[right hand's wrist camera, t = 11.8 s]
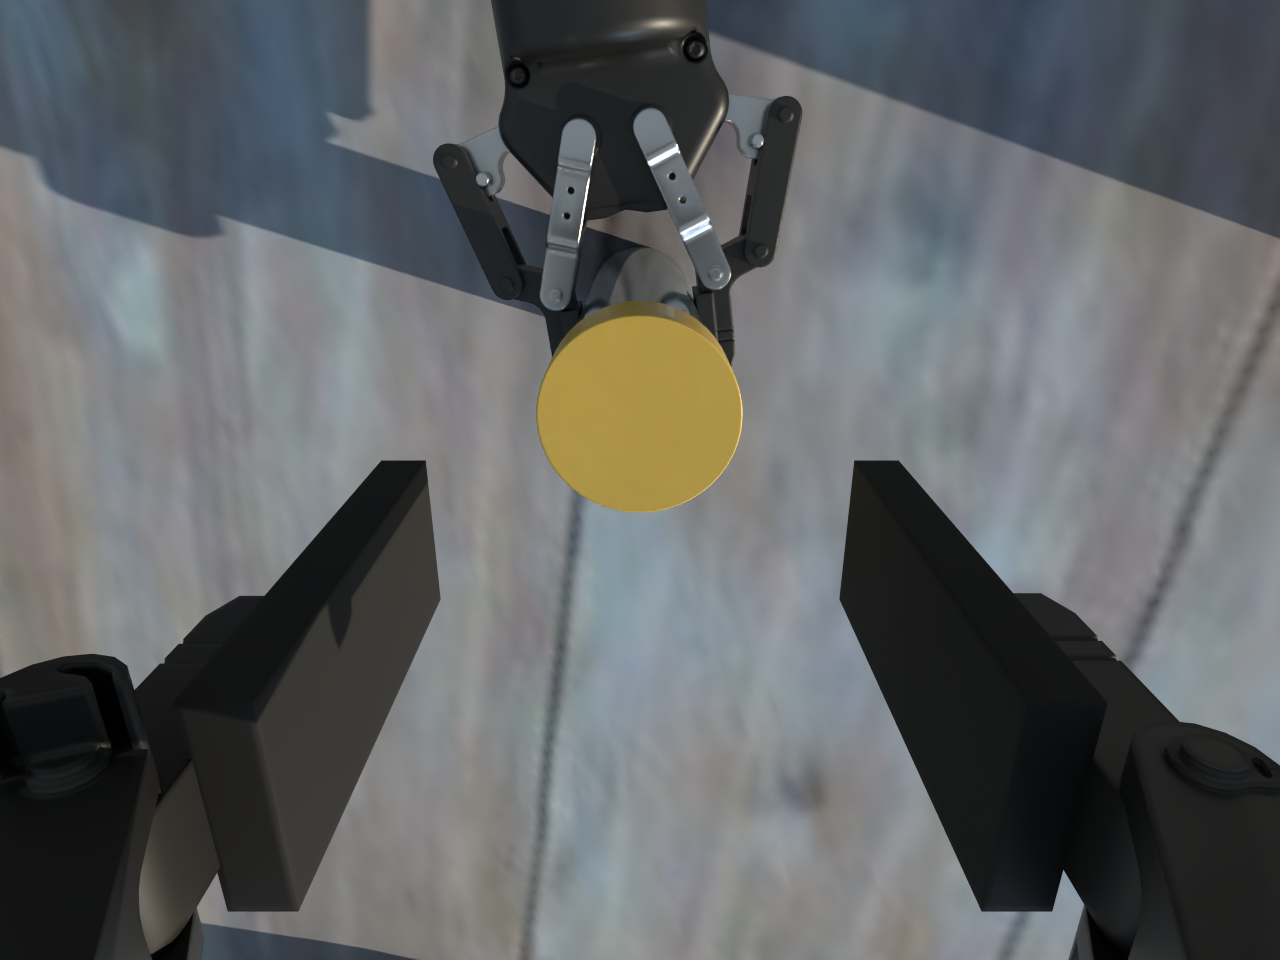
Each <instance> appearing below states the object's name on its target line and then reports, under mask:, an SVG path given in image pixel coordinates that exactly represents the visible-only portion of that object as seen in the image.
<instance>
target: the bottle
mask: <svg viewBox="0 0 1280 960" xmlns="http://www.w3.org/2000/svg"><path fill="white" fill-rule="evenodd" d="M628 301H652V302H657V303H663V304H666V305H669V306H672V307H675V308H677V309H679V310H682V311H684V312H686V313H688V314H689V315H691V316H692V317H694V318H695V319H697V320H698V321H699V322H700V323H702V322H701V319H700V316H699V314H698V311H697V308H696V306H695V303H694V300H693V298H692V295H691V293H690V290H689V287H688V285H687V282H686V279H685V277H684V275H683V273H682V271H681V269H680V268H679V266H678V265H677V264H676V263H675V262H674V261H673V260H672V259H671V258H670V257H669V256H667V255H666V254H664V253H662V252H660V251H658V250H655V249H652V248H647V247H632V248H628V249H625V250H622V251H620V252H618V253H616V254H614V255H613V256H611V257H610V258H609V259H608V260H607V261H606V262H605V263H604V264H603V265H602V266H601V268H600V269H599V271H598V273H597V275H596V277H595V279H594V282H593V284H592V287H591V290H590V292H589V295H588V297H587V300H586V302H585V305H584V308H583V310H582V313H581V315H580V318H579V320H578V322H580V321H581V320H583V319H584V318H585V317H587V316H588V315H590V314H592V313H594V312H595V311H597V310H599V309H602V308H604V307H607V306H610V305H613V304H617V303H621V302H628Z"/></svg>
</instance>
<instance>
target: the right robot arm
mask: <svg viewBox="0 0 1280 960" xmlns="http://www.w3.org/2000/svg"><path fill="white" fill-rule="evenodd" d="M439 601H440V590H439V581H438V571H437V562H436V553H435V543H434V534H433V525H432V515H431V506H430V497H429V488H428V478H427V469H426V461H381V462H380V463H379V464H378V465H377V466H376V467H375V469H374V470H373V471H372V472H371V473H370V474H369V476H368V477H367V478H366V479H365V480H364V481H363V483H362V484H361V485H360V486H359V487H358V488H357V489H356V491H355V492H354V493H353V494H352V495H351V496H350V498H349V499H348V500H347V501H346V502H345V503H344V505H343V506H342V507H341V508H340V509H339V510H338V511H337V513H336V514H335V515H334V516H333V517H332V518H331V520H330V521H329V522H328V523H327V524H326V525H325V527H324V528H323V529H322V530H321V531H320V532H319V533H318V535H317V536H316V537H315V538H314V539H313V540H312V542H311V543H310V544H309V545H308V546H307V547H306V549H305V550H304V551H303V552H302V553H301V554H300V555H299V557H298V558H297V559H296V560H295V561H294V562H293V564H292V565H291V566H290V567H289V568H288V569H287V571H286V572H285V573H284V574H283V575H282V576H281V577H280V579H279V580H278V581H277V582H276V583H275V584H274V586H273V587H272V588H271V589H270V590H269V591H268V593H267V594H266V595H265V596H239V597H237V598H235V599H234V600H232V601H230V602H228V603H227V604H225V605H223V606H222V607H220V608H218V609H216V610H215V611H213V612H211V613H210V614H208V615H206V616H205V617H204V618H203V619H202V620H201V621H200V622H199V623H198V624H197V625H196V626H195V627H194V629H193V630H192V631H191V632H190V633H189V634H188V635H187V636H186V637H185V638H184V639H183V644H178V645H177V646H176V647H175V648H174V649H173V651H172V652H171V653H170V654H169V655H168V656H167V657H166V658H165V663H164V664H159V665H158V666H157V667H156V668H155V669H154V670H153V671H152V673H151V674H150V675H149V676H148V677H147V678H146V679H145V680H144V681H143V682H142V683H141V684H140V685H139V686H138V687H137V688H136V689H135V690H134V688H133V684H132V681H131V678H130V674H129V671H128V667H127V665H125V664H124V663H122V662H121V661H120V660H118V659H117V658H115V657H111V656H104V655H97V654H85V655H75V656H64V657H60V658H56V659H52V660H49V661H45V662H41V663H37V664H33V665H30V666H28V667H26V668H23V669H21V670H18V671H16V672H14V673H11V674H9V675H7V676H4V677H2V678H0V960H201V956H202V948H203V934H202V927H201V922H200V918H199V915H198V911H197V908H196V907H197V906H198V904H199V902H200V901H201V899H202V897H203V896H204V894H205V892H206V890H207V889H208V887H209V885H210V884H211V882H212V880H213V879H214V877H215V875H216V874H217V873H218V876H219V880H220V884H221V888H222V891H223V895H224V899H225V903H226V906H227V910H228V911H299V909H300V906H301V904H302V902H303V900H304V898H305V895H306V893H307V891H308V889H309V887H310V885H311V882H312V880H313V878H314V876H315V874H316V871H317V869H318V867H319V865H320V863H321V860H322V858H323V856H324V854H325V852H326V849H327V847H328V845H329V843H330V841H331V838H332V836H333V834H334V832H335V830H336V827H337V825H338V823H339V821H340V819H341V816H342V814H343V812H344V810H345V808H346V805H347V803H348V801H349V799H350V797H351V795H352V792H353V790H354V788H355V786H356V784H357V781H358V779H359V777H360V775H361V773H362V770H363V768H364V766H365V764H366V762H367V759H368V757H369V755H370V753H371V751H372V748H373V746H374V744H375V742H376V740H377V737H378V735H379V733H380V731H381V729H382V726H383V724H384V722H385V720H386V718H387V715H388V713H389V711H390V709H391V707H392V705H393V702H394V700H395V698H396V696H397V694H398V691H399V689H400V687H401V685H402V683H403V680H404V678H405V676H406V674H407V672H408V669H409V667H410V665H411V663H412V661H413V658H414V656H415V654H416V652H417V650H418V647H419V645H420V643H421V641H422V639H423V636H424V634H425V632H426V630H427V628H428V625H429V623H430V621H431V619H432V617H433V615H434V612H435V610H436V608H437V606H438V604H439ZM840 601H841V604H842V606H843V608H844V610H845V612H846V615H847V617H848V619H849V621H850V623H851V625H852V628H853V630H854V632H855V634H856V636H857V639H858V641H859V643H860V645H861V647H862V650H863V652H864V654H865V656H866V658H867V661H868V663H869V665H870V667H871V669H872V672H873V674H874V676H875V678H876V680H877V683H878V685H879V687H880V689H881V691H882V694H883V696H884V698H885V700H886V702H887V705H888V707H889V709H890V711H891V713H892V715H893V718H894V720H895V722H896V724H897V726H898V729H899V731H900V733H901V735H902V737H903V740H904V742H905V744H906V746H907V748H908V751H909V753H910V755H911V757H912V759H913V762H914V764H915V766H916V768H917V770H918V773H919V775H920V777H921V779H922V781H923V784H924V786H925V788H926V790H927V792H928V795H929V797H930V799H931V801H932V803H933V805H934V808H935V810H936V812H937V814H938V816H939V819H940V821H941V823H942V825H943V827H944V830H945V832H946V834H947V836H948V838H949V841H950V843H951V845H952V847H953V849H954V852H955V854H956V856H957V858H958V860H959V863H960V865H961V867H962V869H963V871H964V874H965V876H966V878H967V880H968V882H969V885H970V887H971V889H972V891H973V893H974V895H975V898H976V900H977V902H978V904H979V906H980V909H981V911H1052V910H1053V906H1054V903H1055V899H1056V895H1057V891H1058V888H1059V884H1060V880H1061V876H1062V873H1063V869H1064V871H1065V873H1066V874H1067V876H1068V878H1069V880H1070V881H1071V883H1072V885H1073V886H1074V888H1075V890H1076V891H1077V893H1078V895H1079V896H1080V898H1081V900H1082V901H1083V903H1084V908H1083V911H1082V915H1081V918H1080V922H1079V925H1078V929H1077V932H1076V936H1075V939H1074V943H1073V946H1072V950H1071V953H1070V957H1069V960H1280V765H1278V764H1277V763H1276V762H1274V761H1273V760H1272V759H1270V758H1269V757H1267V756H1266V755H1265V754H1263V753H1262V752H1261V751H1259V750H1258V749H1257V748H1255V747H1253V746H1251V745H1249V744H1247V743H1245V742H1243V741H1241V740H1239V739H1237V738H1235V737H1233V736H1231V735H1229V734H1227V733H1224V732H1221V731H1218V730H1214V729H1211V728H1208V727H1204V726H1201V725H1198V724H1194V723H1184V722H1179V721H1178V720H1177V719H1176V718H1175V717H1174V715H1173V714H1172V713H1171V712H1170V711H1169V710H1168V709H1167V708H1166V707H1165V706H1164V705H1163V704H1162V703H1161V702H1160V701H1159V700H1158V699H1157V698H1156V697H1155V696H1154V695H1153V694H1152V693H1151V692H1150V691H1149V689H1148V688H1147V687H1146V686H1145V685H1144V684H1143V683H1142V682H1141V681H1140V680H1139V679H1138V678H1137V677H1136V676H1135V675H1134V674H1133V673H1132V672H1131V671H1130V670H1129V669H1128V668H1127V667H1126V666H1125V665H1124V664H1123V662H1122V661H1117V660H1116V655H1115V654H1114V653H1113V652H1112V651H1111V650H1110V649H1109V648H1108V647H1107V646H1106V645H1105V644H1104V643H1103V642H1102V641H1098V640H1097V635H1096V634H1095V633H1094V632H1093V631H1092V630H1091V629H1090V628H1089V627H1088V626H1087V625H1086V624H1085V623H1084V622H1083V621H1082V620H1081V619H1080V618H1079V617H1078V616H1077V615H1076V614H1075V613H1074V612H1072V611H1070V610H1069V609H1067V608H1065V607H1064V606H1062V605H1060V604H1058V603H1057V602H1055V601H1053V600H1052V599H1050V598H1048V597H1046V596H1045V595H1043V594H1041V593H1012V591H1011V590H1010V589H1009V588H1008V587H1007V586H1006V584H1005V583H1004V582H1003V581H1002V580H1001V579H1000V577H999V576H998V575H997V574H996V573H995V572H994V571H993V569H992V568H991V567H990V566H989V565H988V564H987V562H986V561H985V560H984V559H983V558H982V557H981V555H980V554H979V553H978V552H977V551H976V550H975V549H974V547H973V546H972V545H971V544H970V543H969V542H968V540H967V539H966V538H965V537H964V536H963V535H962V533H961V532H960V531H959V530H958V529H957V528H956V527H955V525H954V524H953V523H952V522H951V521H950V520H949V518H948V517H947V516H946V515H945V514H944V513H943V511H942V510H941V509H940V508H939V507H938V506H937V505H936V503H935V502H934V501H933V500H932V499H931V498H930V496H929V495H928V494H927V493H926V492H925V491H924V489H923V488H922V487H921V486H920V485H919V484H918V483H917V481H916V480H915V479H914V478H913V477H912V476H911V474H910V473H909V472H908V471H907V470H906V469H905V467H904V466H903V465H902V464H901V463H900V462H899V461H854V469H853V478H852V488H851V497H850V506H849V515H848V525H847V534H846V543H845V553H844V562H843V571H842V581H841V590H840Z"/></svg>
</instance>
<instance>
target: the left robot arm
mask: <svg viewBox="0 0 1280 960" xmlns="http://www.w3.org/2000/svg"><path fill="white" fill-rule="evenodd" d="M491 3H492V9H493V15H494V21H495V26H496V32H497V38H498V44H499V49H500V55H501V61H502V67H503V72H504V79H505V97H504V102H503V106H502V109H501V112H500V116H499V126H498V127H496V128H494V129H491V130H489V131H487V132H485V133H483V134H481V135H478V136H476V137H474V138H472V139H470V140H468V141H466V142H463V143H461V144H443V145H441V146H439V147H438V148H437V149H436V151H435V153H434V156H433V163H434V167H435V169H436V171H437V173H438V175H439V178H440V180H441V182H442V184H443V186H444V188H445V190H446V192H447V194H448V197H449V199H450V201H451V203H452V205H453V207H454V209H455V211H456V213H457V216H458V218H459V220H460V222H461V224H462V226H463V228H464V230H465V232H466V235H467V237H468V239H469V241H470V243H471V245H472V247H473V249H474V252H475V254H476V256H477V258H478V260H479V262H480V264H481V266H482V268H483V271H484V273H485V275H486V277H487V279H488V281H489V283H490V285H491V287H492V290H493V291H494V293H495V294H496V295H497V296H498V297H499V298H501V299H504V300H511V299H515V300H520V301H524V302H529V303H532V304H534V305H536V306H538V307H539V308H540V309H541V310H542V312H543V313H544V315H545V319H546V324H547V330H548V335H549V341H550V347H551V352H552V357H553V355H554V353H555V351H556V349H557V347H558V346H559V344H560V342H561V341H562V340H563V338H564V337H565V336H566V335H567V333H568V332H569V331H570V330H571V329H572V328H573V327H574V326H575V325H576V324H577V323H578V320H579V318H580V315H581V313H582V310H583V304H582V301H577V300H576V293H575V287H576V282H577V276H578V270H579V264H580V258H581V252H582V247H583V242H584V237H585V232H586V226H587V220H594V219H602V218H606V217H609V216H611V215H613V214H616V213H618V212H620V211H622V210H634V211H641V212H652V211H660V210H667V208H668V210H669V212H670V215H671V217H672V219H673V221H674V223H675V225H676V228H677V230H678V232H679V234H680V236H681V238H682V241H683V243H684V245H685V247H686V249H687V252H688V254H689V256H690V258H691V260H692V263H693V265H694V267H695V272H696V282H697V286H694V287H692V290H693V300H694V303H695V306H696V308H697V311H698V314H699V316H700V319H701V322H702V324H703V325H704V326H705V327H706V328H707V329H708V330H709V331H710V332H711V333H712V334H713V336H714V337H715V338H716V340H717V341H718V343H719V344H720V346H721V347H722V349H723V351H724V353H725V355H726V357H727V359H728V361H729V364H730V366H732V364H733V360H734V357H735V354H736V353H735V341H734V331H733V319H732V307H731V296H730V293H731V288H732V285H733V283H734V282H735V280H736V279H737V278H738V277H740V276H741V275H743V274H745V273H747V272H749V271H751V270H752V269H754V268H756V267H764V266H767V265H768V264H770V263H771V262H772V261H773V259H774V258H775V255H776V251H777V246H778V240H779V235H780V230H781V224H782V219H783V214H784V209H785V203H786V198H787V193H788V187H789V182H790V177H791V172H792V166H793V161H794V156H795V150H796V145H797V140H798V135H799V129H800V124H801V119H802V108H801V105H800V104H799V102H798V101H797V100H796V99H795V98H793V97H790V96H783V97H778V98H776V99H766V98H759V97H752V96H745V95H738V94H732V93H728V90H727V87H726V85H725V83H724V81H723V80H722V78H721V77H720V75H719V73H718V72H717V70H716V68H715V65H714V63H713V60H712V56H711V51H710V41H709V30H708V18H707V7H706V0H491ZM723 122H727V123H729V124H730V125H731V126H732V127H733V128H734V130H735V132H736V136H737V148H738V150H739V152H740V153H741V154H742V155H743V156H744V157H746V158H750V159H752V162H751V168H750V174H749V180H748V186H747V192H746V197H745V203H744V209H743V215H742V221H741V227H740V233H739V236H738V237H736V238H734V239H732V240H730V241H728V242H727V243H725V244H723V245H720V243H719V241H718V239H717V236H716V234H715V232H714V230H713V227H712V225H711V222H710V219H709V217H708V214H707V212H706V210H705V207H704V205H703V203H702V201H701V198H700V196H699V194H698V192H697V189H696V187H695V185H694V182H693V178H694V177H695V175H696V173H697V171H698V169H699V167H700V165H701V163H702V161H703V160H704V158H705V156H706V154H707V152H708V150H709V148H710V146H711V145H712V143H713V141H714V139H715V137H716V135H717V133H718V131H719V129H720V128H721V126H722V124H723ZM510 152H511V153H512V154H513V156H514V157H515V158H516V159H517V160H518V161H519V162H520V163H521V164H522V165H523V166H524V167H525V168H526V170H527V171H528V172H529V173H530V174H531V175H532V176H533V177H534V178H535V179H536V180H537V181H538V182H539V184H540V185H541V186H542V187H543V188H544V189H545V190H546V191H547V192H548V193H549V194H550V195H551V196H552V198H553V201H552V208H551V215H550V221H549V228H548V234H547V244H546V245H547V248H546V256H545V262H544V269H542V268H538V267H533V266H529V265H526V263H525V260H524V258H523V256H522V254H521V252H520V249H519V247H518V245H517V243H516V240H515V238H514V236H513V234H512V232H511V229H510V227H509V225H508V223H507V221H506V218H505V216H504V214H503V212H502V210H501V207H500V205H499V203H498V201H497V198H496V196H495V194H497V193H499V192H500V191H501V190H502V189H503V187H504V184H505V176H504V172H503V161H504V159H505V157H506V156H507V155H508V154H509V153H510Z"/></svg>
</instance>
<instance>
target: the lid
mask: <svg viewBox="0 0 1280 960" xmlns="http://www.w3.org/2000/svg"><path fill="white" fill-rule="evenodd" d="M742 417H743V413H742V400H741V395H740V390H739V387H738V383H737V380H736V377H735V375H734V373H733V371H732V368H731V366H730V364H729V361H728V359H727V357H726V355H725V353H724V351H723V349H722V347H721V346H720V344H719V343H718V341H717V340H716V338H715V337H714V336H713V334H712V333H711V332H710V331H709V330H708V329H707V328H706V327H705V326H704V325H703V324H702V323H700V322H699V321H698V320H697V319H695V318H694V317H692V316H691V315H689V314H688V313H686V312H684V311H682V310H679V309H677V308H675V307H672V306H669V305H666V304H663V303H657V302H652V301H628V302H621V303H617V304H613V305H610V306H607V307H604V308H602V309H599V310H597V311H595V312H594V313H592V314H590V315H588V316H587V317H585V318H584V319H583V320H581V321H580V322H578V323H577V324H576V325H575V326H574V327H573V328H572V329H571V330H570V331H569V332H568V333H567V335H566V336H565V337H564V338H563V340H562V341H561V342H560V344H559V346H558V347H557V349H556V351H555V353H554V355H553V357H552V360H551V362H550V364H549V366H548V368H547V371H546V373H545V375H544V378H543V380H542V382H541V386H540V390H539V393H538V399H537V407H536V418H537V428H538V434H539V437H540V441H541V444H542V447H543V449H544V452H545V454H546V456H547V458H548V460H549V462H550V463H551V465H552V467H553V468H554V470H555V471H556V472H557V473H558V475H559V476H560V477H561V478H562V479H563V480H564V481H565V482H566V483H567V484H568V485H569V486H570V487H571V488H572V489H574V490H575V491H576V492H578V493H579V494H580V495H582V496H584V497H585V498H587V499H589V500H591V501H592V502H595V503H597V504H599V505H602V506H604V507H608V508H611V509H615V510H620V511H626V512H654V511H659V510H664V509H668V508H671V507H674V506H677V505H680V504H682V503H684V502H686V501H688V500H690V499H692V498H694V497H695V496H697V495H698V494H700V493H702V492H703V491H704V490H705V489H707V488H708V487H709V486H710V485H711V484H712V483H713V482H714V481H715V480H716V479H717V478H718V477H719V476H720V475H721V473H722V472H723V471H724V469H725V468H726V467H727V465H728V463H729V462H730V460H731V458H732V456H733V454H734V452H735V449H736V447H737V444H738V441H739V437H740V433H741V428H742Z"/></svg>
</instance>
